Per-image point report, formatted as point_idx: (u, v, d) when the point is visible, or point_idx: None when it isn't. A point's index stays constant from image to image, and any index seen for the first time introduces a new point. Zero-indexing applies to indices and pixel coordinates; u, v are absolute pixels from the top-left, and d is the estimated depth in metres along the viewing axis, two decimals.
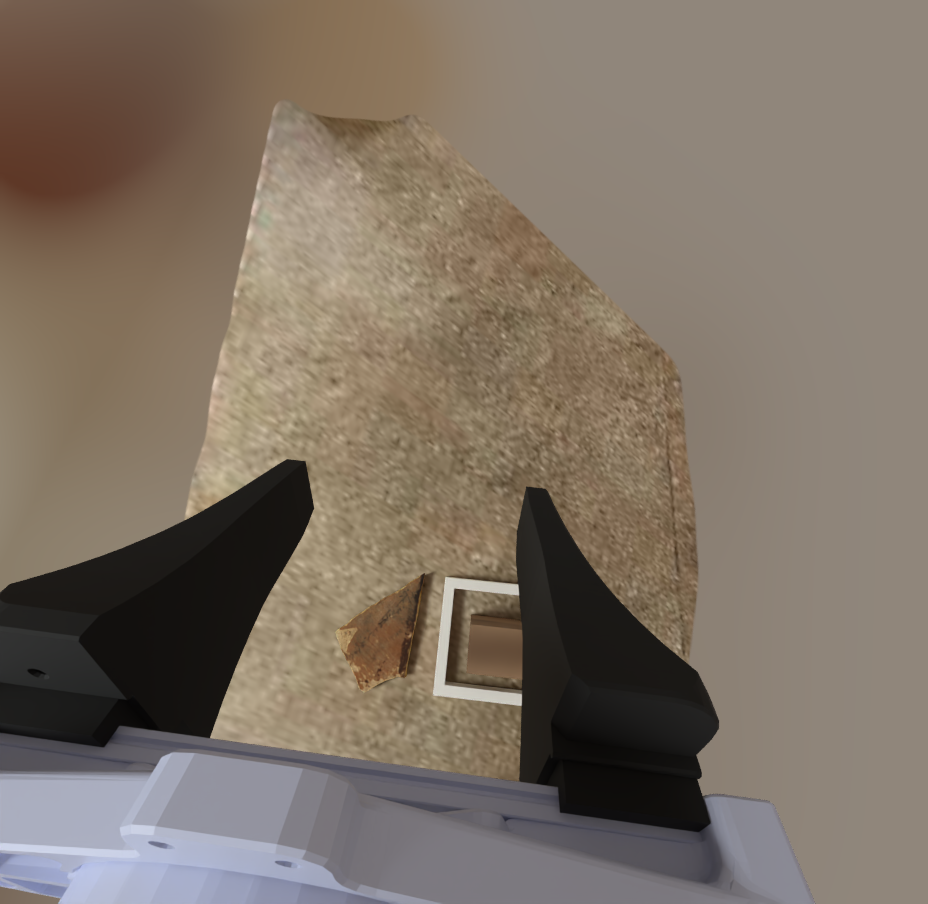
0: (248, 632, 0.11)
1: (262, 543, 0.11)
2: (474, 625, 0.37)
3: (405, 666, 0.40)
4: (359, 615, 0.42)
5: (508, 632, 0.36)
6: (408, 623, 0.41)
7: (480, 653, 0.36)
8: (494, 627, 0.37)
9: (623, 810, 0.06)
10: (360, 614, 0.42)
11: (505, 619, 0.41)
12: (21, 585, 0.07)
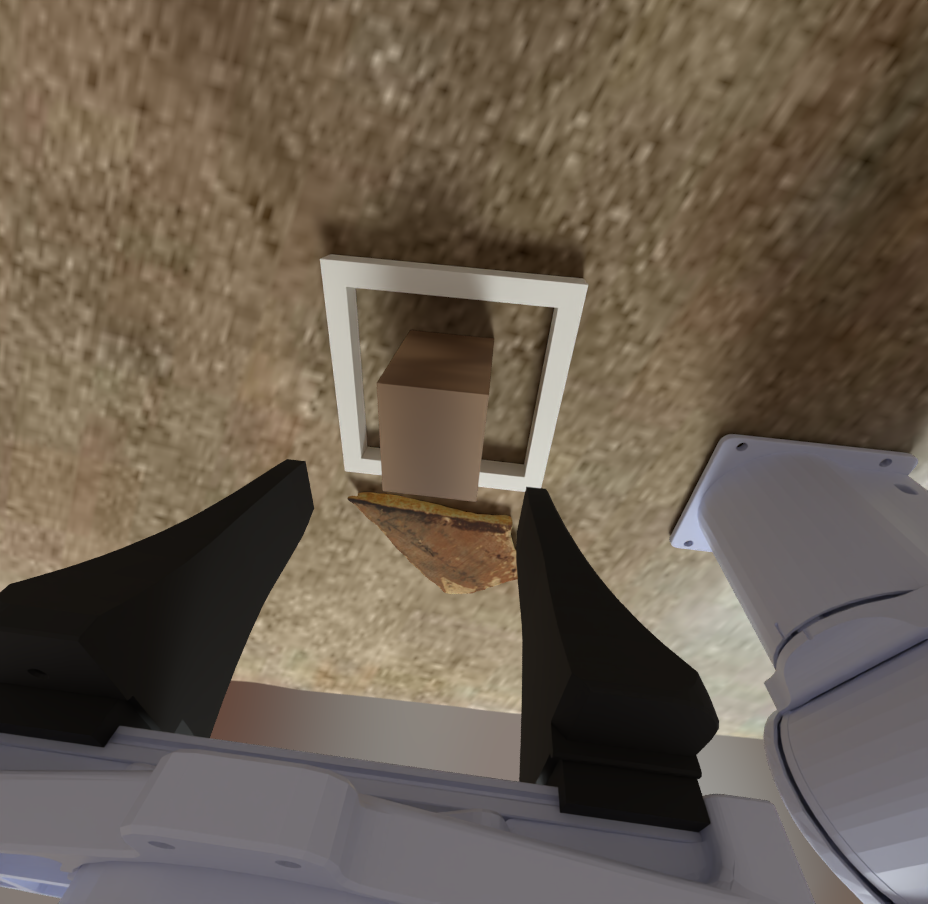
0: (248, 632, 0.11)
1: (262, 543, 0.11)
2: (384, 484, 0.17)
3: (494, 524, 0.25)
4: (424, 573, 0.28)
5: (388, 423, 0.15)
6: (429, 521, 0.25)
7: (436, 476, 0.17)
8: (382, 448, 0.16)
9: (623, 810, 0.06)
10: (422, 572, 0.28)
11: None
12: (21, 585, 0.07)
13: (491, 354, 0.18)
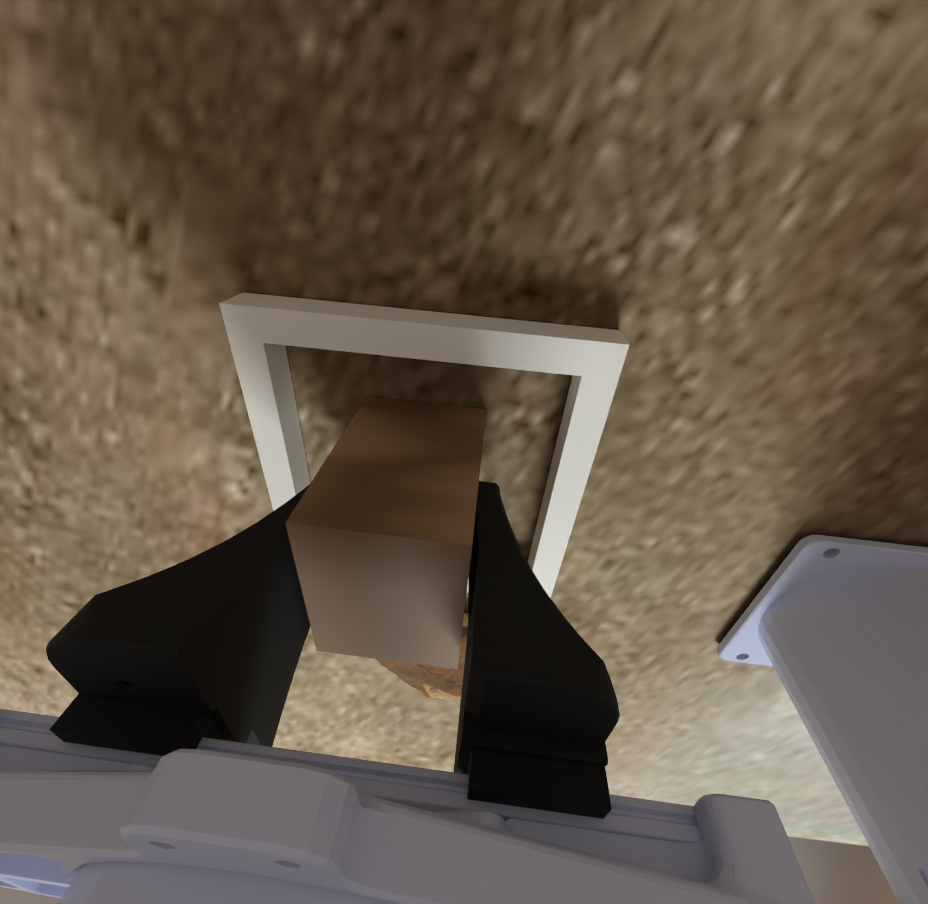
0: (304, 639, 0.11)
1: None
2: (317, 644, 0.11)
3: None
4: (401, 678, 0.22)
5: (312, 574, 0.10)
6: None
7: (395, 639, 0.11)
8: (308, 603, 0.10)
9: (525, 796, 0.06)
10: (399, 677, 0.22)
11: None
12: (106, 597, 0.07)
13: (480, 443, 0.12)
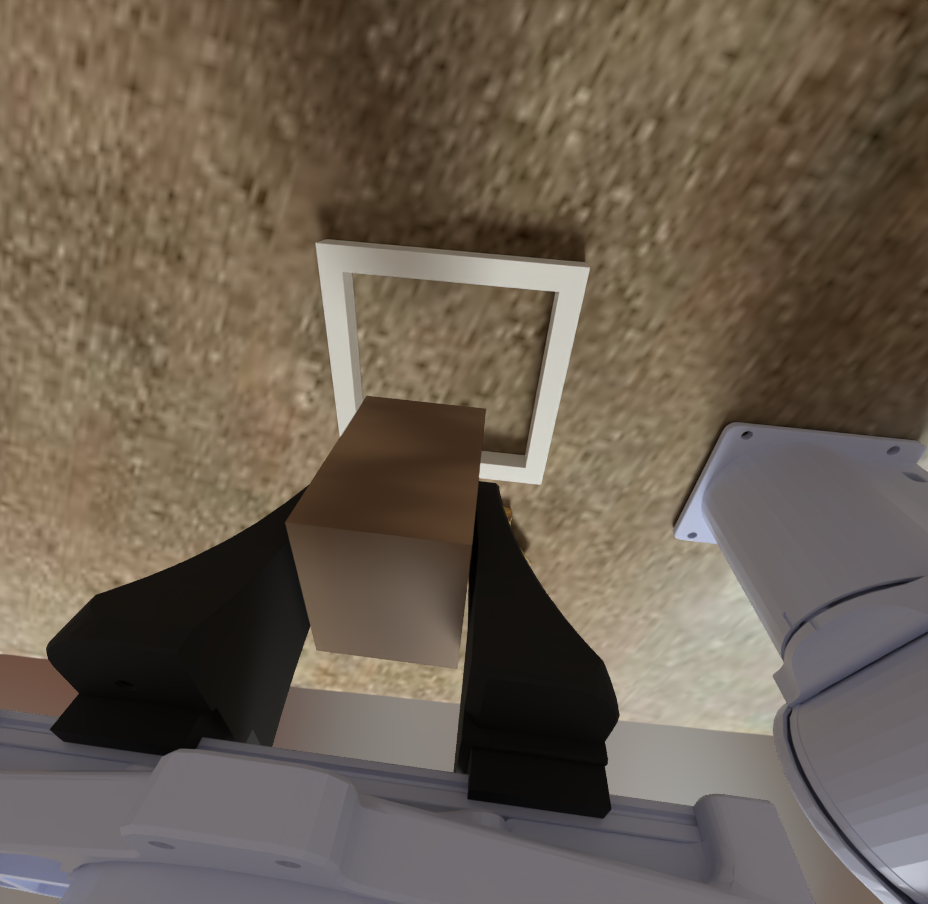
0: (303, 639, 0.11)
1: None
2: (317, 643, 0.11)
3: None
4: None
5: (312, 574, 0.10)
6: None
7: (394, 638, 0.11)
8: (308, 602, 0.10)
9: (525, 796, 0.06)
10: None
11: None
12: (107, 597, 0.07)
13: (480, 443, 0.12)
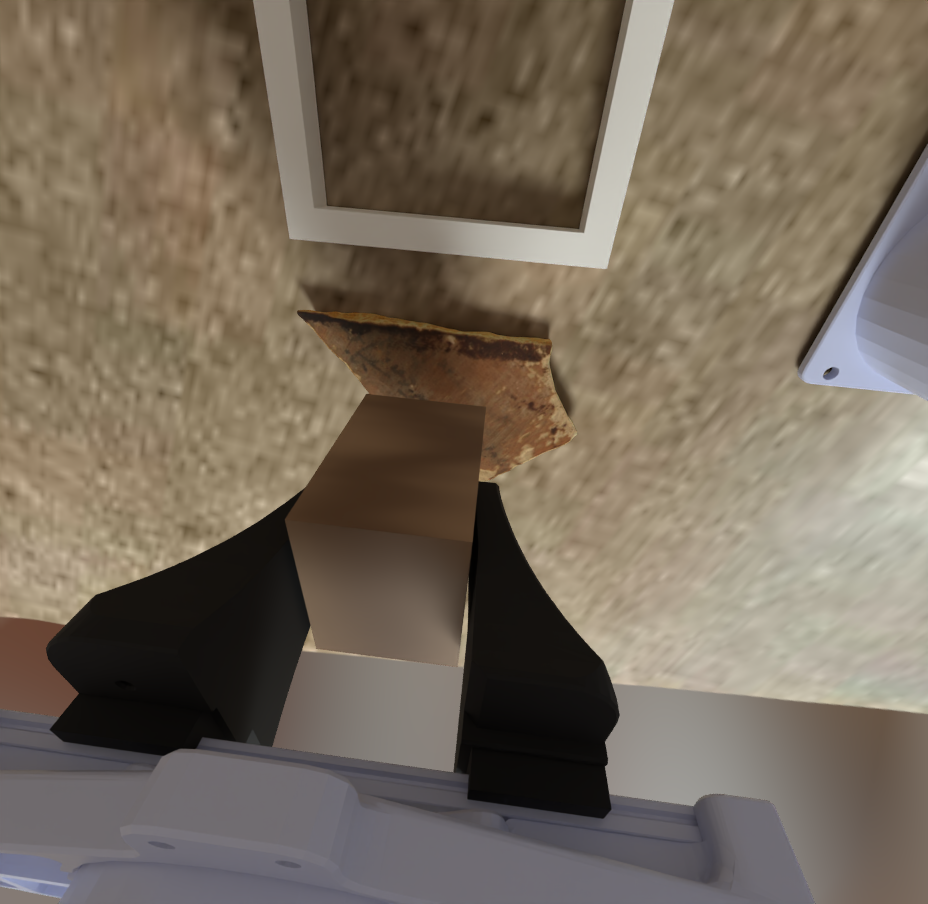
0: (303, 639, 0.11)
1: None
2: (317, 641, 0.11)
3: (525, 345, 0.16)
4: None
5: (312, 571, 0.10)
6: (423, 345, 0.16)
7: (395, 636, 0.11)
8: (308, 600, 0.10)
9: (525, 796, 0.06)
10: None
11: None
12: (106, 597, 0.07)
13: (480, 440, 0.12)
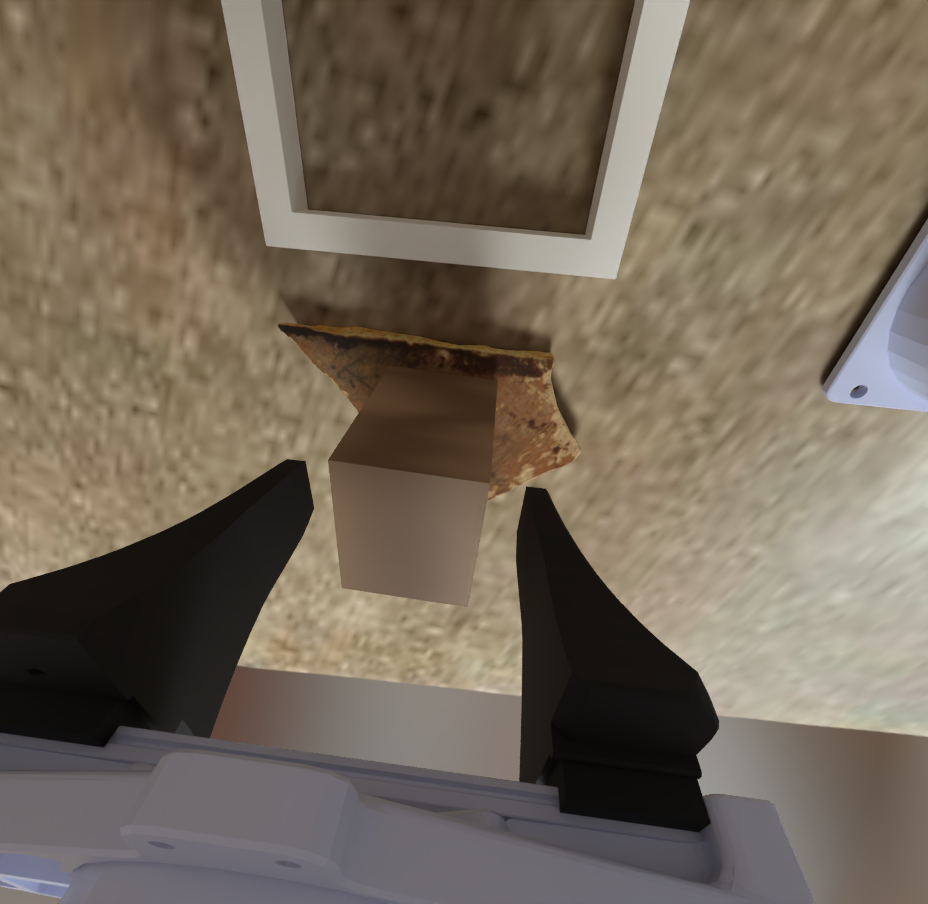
0: (248, 632, 0.11)
1: (262, 543, 0.11)
2: (343, 581, 0.13)
3: (524, 359, 0.15)
4: None
5: (346, 511, 0.11)
6: (414, 360, 0.15)
7: (414, 576, 0.12)
8: (339, 539, 0.12)
9: (623, 810, 0.06)
10: None
11: None
12: (21, 585, 0.07)
13: (494, 407, 0.13)
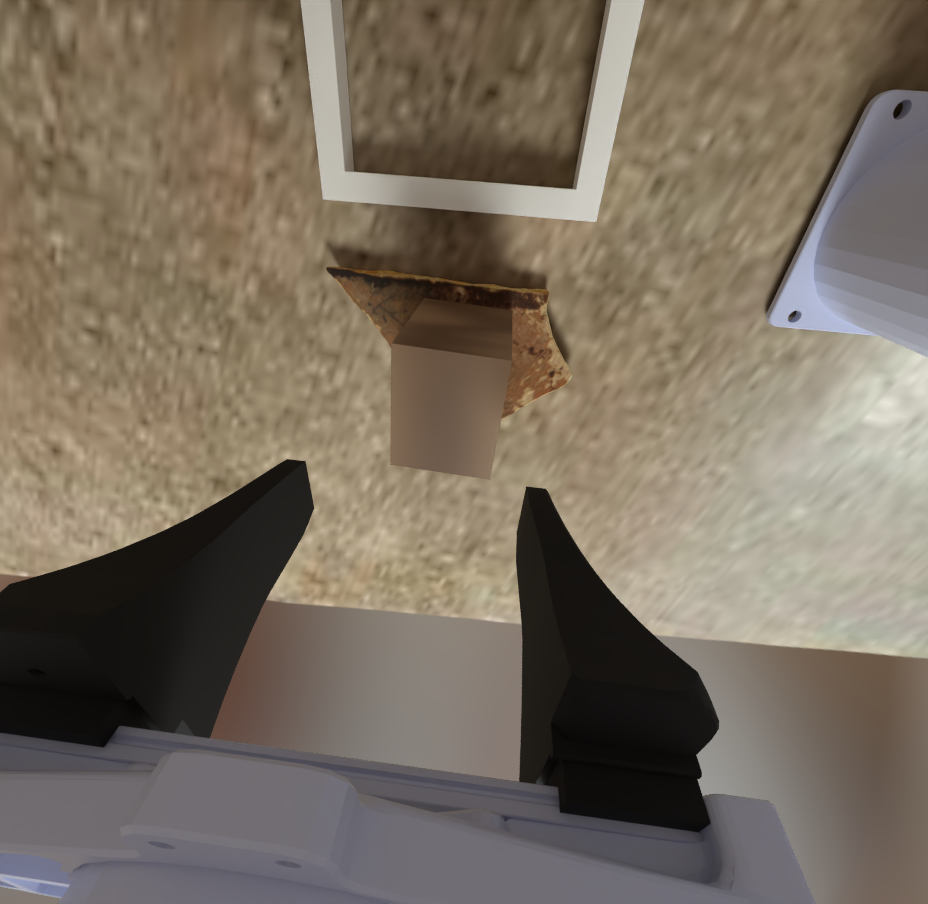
0: (248, 632, 0.11)
1: (262, 543, 0.11)
2: (392, 457, 0.16)
3: (525, 294, 0.18)
4: None
5: (401, 389, 0.14)
6: (436, 296, 0.18)
7: (449, 450, 0.16)
8: (392, 417, 0.15)
9: (623, 810, 0.06)
10: None
11: None
12: (21, 585, 0.07)
13: (511, 324, 0.17)
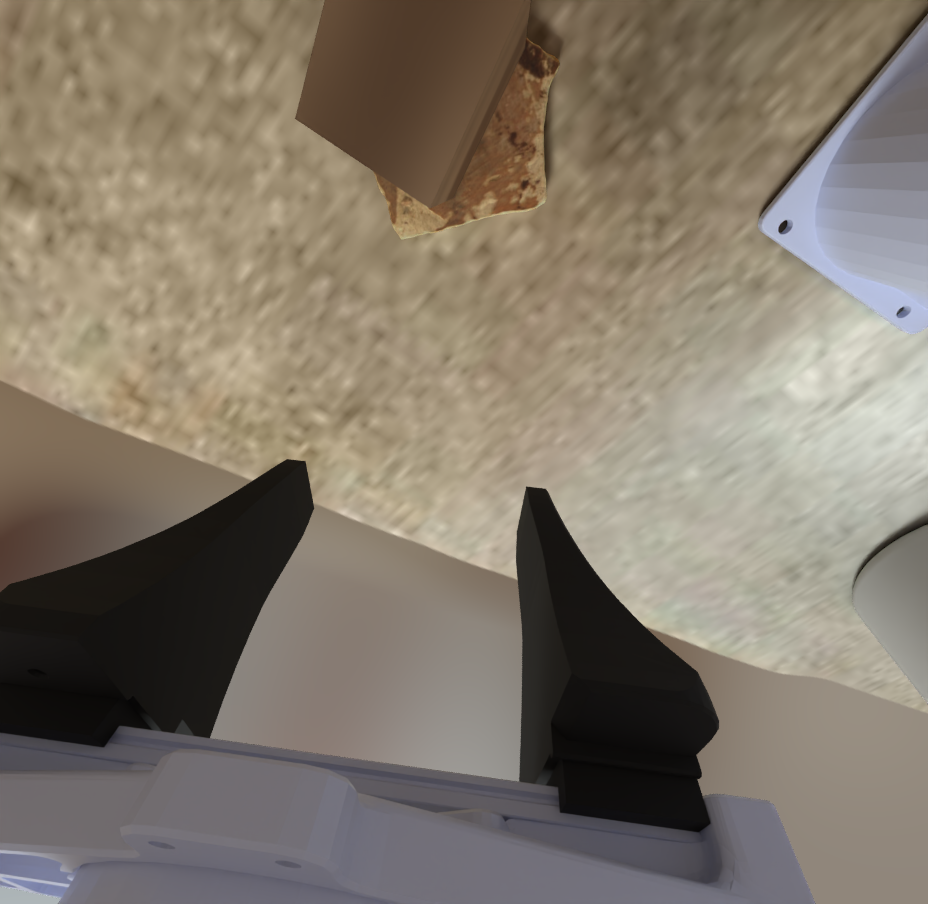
0: (248, 632, 0.11)
1: (262, 543, 0.11)
2: (301, 106, 0.11)
3: (533, 47, 0.14)
4: None
5: None
6: None
7: (390, 127, 0.11)
8: (324, 19, 0.10)
9: (623, 810, 0.06)
10: None
11: None
12: (21, 585, 0.07)
13: (525, 29, 0.12)
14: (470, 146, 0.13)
